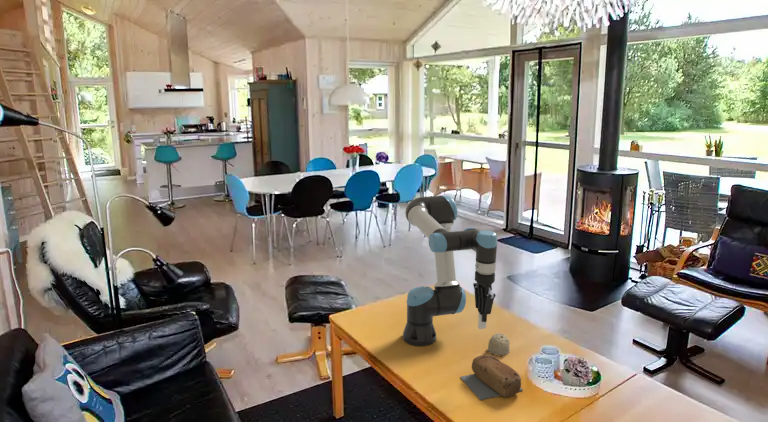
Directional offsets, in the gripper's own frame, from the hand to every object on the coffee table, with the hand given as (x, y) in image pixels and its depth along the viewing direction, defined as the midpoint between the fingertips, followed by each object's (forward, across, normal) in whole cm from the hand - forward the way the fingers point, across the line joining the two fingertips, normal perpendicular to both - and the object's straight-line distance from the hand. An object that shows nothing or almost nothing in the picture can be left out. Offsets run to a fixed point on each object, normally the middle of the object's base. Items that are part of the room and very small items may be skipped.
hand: (482, 327), depth 207 cm
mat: (+20, +9, 0) cm, 21 cm away
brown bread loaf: (+16, -1, 0) cm, 16 cm away
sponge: (+20, -13, +17) cm, 30 cm away
